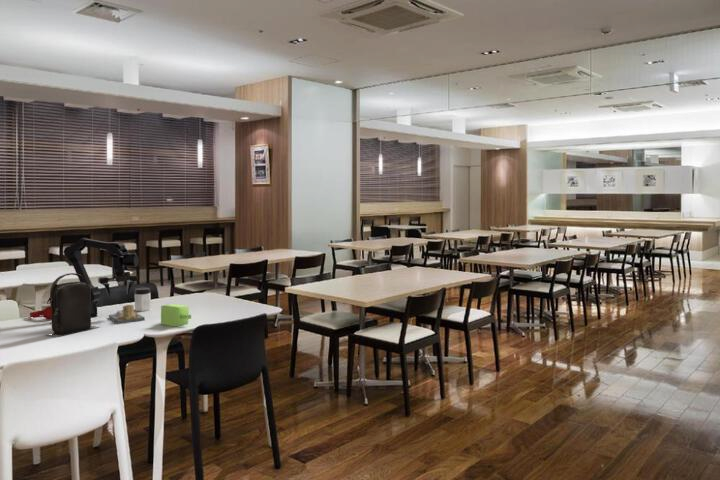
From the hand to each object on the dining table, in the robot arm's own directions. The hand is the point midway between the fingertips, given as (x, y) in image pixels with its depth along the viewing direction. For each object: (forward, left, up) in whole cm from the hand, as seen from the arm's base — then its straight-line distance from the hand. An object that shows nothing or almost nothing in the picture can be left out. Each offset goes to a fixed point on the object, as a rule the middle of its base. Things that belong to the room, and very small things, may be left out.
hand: (118, 295), depth 305 cm
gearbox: (+18, -36, -12) cm, 42 cm away
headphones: (-30, +24, -12) cm, 40 cm away
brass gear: (+2, -12, -10) cm, 16 cm away
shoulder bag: (-26, -19, -12) cm, 34 cm away
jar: (+16, +11, -12) cm, 23 cm away
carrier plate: (+2, -8, -12) cm, 14 cm away
